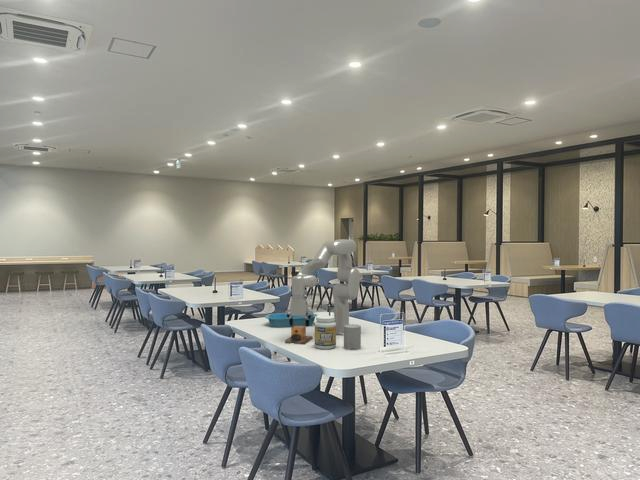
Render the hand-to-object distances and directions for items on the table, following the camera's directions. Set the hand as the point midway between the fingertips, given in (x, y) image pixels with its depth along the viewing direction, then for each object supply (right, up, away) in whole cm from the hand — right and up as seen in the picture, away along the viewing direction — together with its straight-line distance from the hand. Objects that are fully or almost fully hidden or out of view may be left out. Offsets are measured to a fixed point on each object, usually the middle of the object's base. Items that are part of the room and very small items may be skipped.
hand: (299, 325), depth 281 cm
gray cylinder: (+30, -10, -17) cm, 36 cm away
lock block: (0, -8, 0) cm, 8 cm away
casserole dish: (-8, -9, +53) cm, 54 cm away
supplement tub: (+15, -10, -15) cm, 23 cm away
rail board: (0, -9, +1) cm, 9 cm away
